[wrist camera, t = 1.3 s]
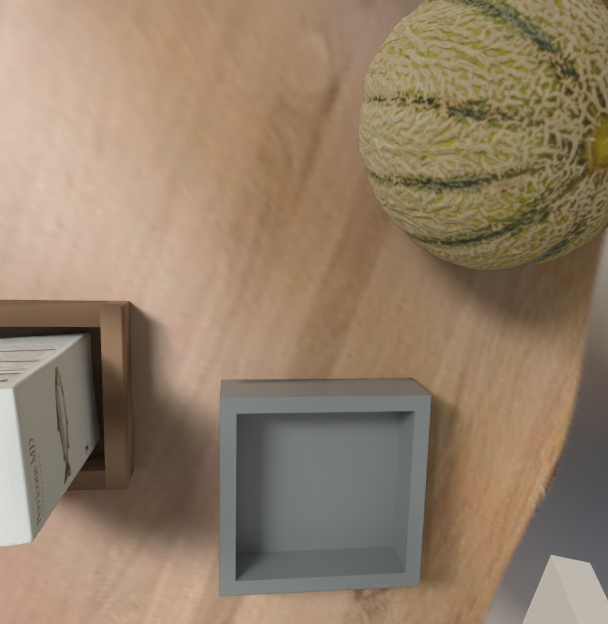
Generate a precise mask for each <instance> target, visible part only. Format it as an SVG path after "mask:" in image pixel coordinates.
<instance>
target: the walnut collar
mask: <svg viewBox="0 0 608 624" xmlns="http://www.w3.org/2000/svg"><path fill="white" fill-rule="evenodd" d="M0 327H101V358H102V388H103V418H104V448H105V454H100V455H89V457H88V458H87V460H86V461H85V463H84V464H83V466H82V467H81V469H80V470H79V472H78V473H77V475H76V476H75V478H74V479H73V481H72V482H71V484H70V485H69V487H68V488H67V490H92V489H126V487H127V485H128V482H129V480H130V477H131V475H132V473H133V440H132V399H131V359H130V318H129V301H58V300H0Z"/></svg>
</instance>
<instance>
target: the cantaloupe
mask: <svg viewBox="0 0 608 624" xmlns="http://www.w3.org/2000/svg"><path fill="white" fill-rule="evenodd" d="M358 133H359V138H358V139H359V141H360V146H359V150H360V152H361V156H362V161H363V163H364V165H365V169H366V173H367V177H368V179H369V182H370V184H371V187H372V189H373V192H374V195H375V197H376V198H377V200H378V201H379V203H380V205H381V206H382V208H383V209H384V211H385V212H386V213H387V215H388V216H389V218H390V219H391V220H392V221H393V222H394V223H395V224H396V225H397V226H398V227H400V228H401V229H402V230H403V231H404V232H405V233H406V234H407V235H408V236H409V237H410V238H411V239H412V240H413V241H414V242H415V243H416V244H418V245H419V246H420V247H422V248H423V249H425V250H426V251H428V252H429V253H431V254H433V255H434V256H436V257H437V258H439V259H441V260H445V261H448V262H451V263H453V264H456V265H460V266H463V267H466V268H473V269H486V270H494V269H505V268H515V267H526V266H532V265H537V264H542V263H546V262H549V261H552V260H555V259H558V258H561V257H563V256H565V255H567V254H568V253H570V252H572V251H574V250H576V249H578V248H580V247H581V246H583V245H585V244H587V243H589V242H590V241H591V240H592V239H594V238H595V237H596V236H597V235H598V234H599V233H601V232H602V231H603V230H604V229H605V228H606V227H607V226H608V0H424V1H423V2H422V3H421V4H420V5H419V6H418V8H417V9H416V10H415V11H414V12H412V13H410V14H408V15H406V16H405V17H403V18H402V19H401V21H400V22H399V23H398V24H397V25H396V26H395V27H394V28H393V29H392V31H391V32H390V34H389V36H388V37H387V38H386V40H385V41H384V42H383V44H382V45H381V47H380V49H379V51H378V52H377V53H376V55H375V58H374V60H373V61H372V62H371V63H370V66H369V71H368V73H367V75H366V76H365V80H364V93H363V103H362V106H361V109H360V113H359V127H358Z"/></svg>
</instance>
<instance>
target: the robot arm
mask: <svg viewBox="0 0 608 624" xmlns="http://www.w3.org/2000/svg"><path fill="white" fill-rule="evenodd" d="M522 624H608V600H607V598H606V596H605V594H604V592H603V590H602V588H601V585H600V583H599V581H598V579H597V577H596V575H595V573H594V571H593V568H592V567H591V564H590V563H588V562H583V561H577V560H573V559H568V558H563V557H558V556H554V555H551V556H550V559H549V561H548V564H547V566H546V568H545V571H544V573H543V575H542V578H541V580H540V583H539V585H538V587H537V590H536V592H535V595H534V597H533V600H532V602H531V604H530V607H529V609H528V611H527V614H526V616H525V618H524V621H523V623H522Z"/></svg>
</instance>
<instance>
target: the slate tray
mask: <svg viewBox="0 0 608 624" xmlns="http://www.w3.org/2000/svg"><path fill="white" fill-rule="evenodd" d="M430 411H431V395H430V394H429V393H428V392H427V391H426V390H425V389H424V388H423V387H422V386H421V385H419V384H418V383H417V382H416V381H415V380H414V379H413V378H405V379H276V380H221V390H220V508H219V597H220V596H239V595H258V594H277V593H296V592H315V591H334V590H353V589H372V588H391V587H410V586H419V584H420V568H421V552H422V537H423V521H424V505H425V489H426V474H427V458H428V442H429V426H430Z"/></svg>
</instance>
